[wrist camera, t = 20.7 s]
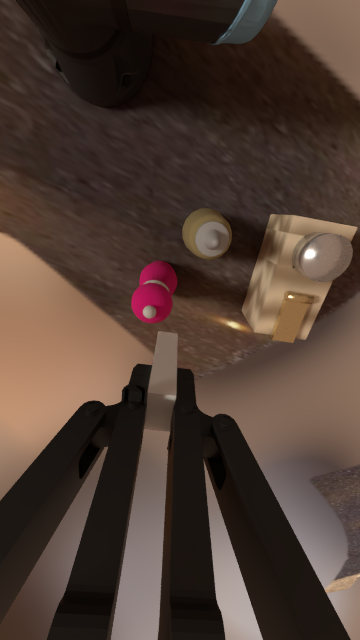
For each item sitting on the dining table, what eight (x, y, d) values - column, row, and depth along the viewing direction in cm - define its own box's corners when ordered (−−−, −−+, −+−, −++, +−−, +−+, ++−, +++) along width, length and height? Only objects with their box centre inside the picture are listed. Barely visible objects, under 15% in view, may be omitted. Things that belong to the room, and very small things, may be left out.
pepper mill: (180, 262, 47) (181, 294, 29) (173, 295, 50) (170, 342, 32) (145, 254, 47) (124, 283, 28) (140, 288, 50) (118, 333, 32)
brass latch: (285, 289, 39) (290, 292, 38) (310, 294, 40) (315, 296, 38) (269, 337, 43) (272, 341, 41) (291, 340, 43) (295, 344, 42)
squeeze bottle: (232, 224, 44) (263, 232, 28) (207, 260, 47) (222, 286, 31) (197, 198, 42) (208, 191, 26) (174, 237, 45) (170, 253, 29)
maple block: (270, 214, 43) (294, 215, 34) (321, 223, 44) (357, 227, 35) (241, 310, 52) (254, 332, 43) (283, 317, 53) (305, 339, 44)
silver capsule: (280, 225, 42) (314, 230, 31) (315, 231, 43) (361, 238, 32) (268, 262, 45) (296, 278, 34) (301, 267, 46) (339, 285, 35)
